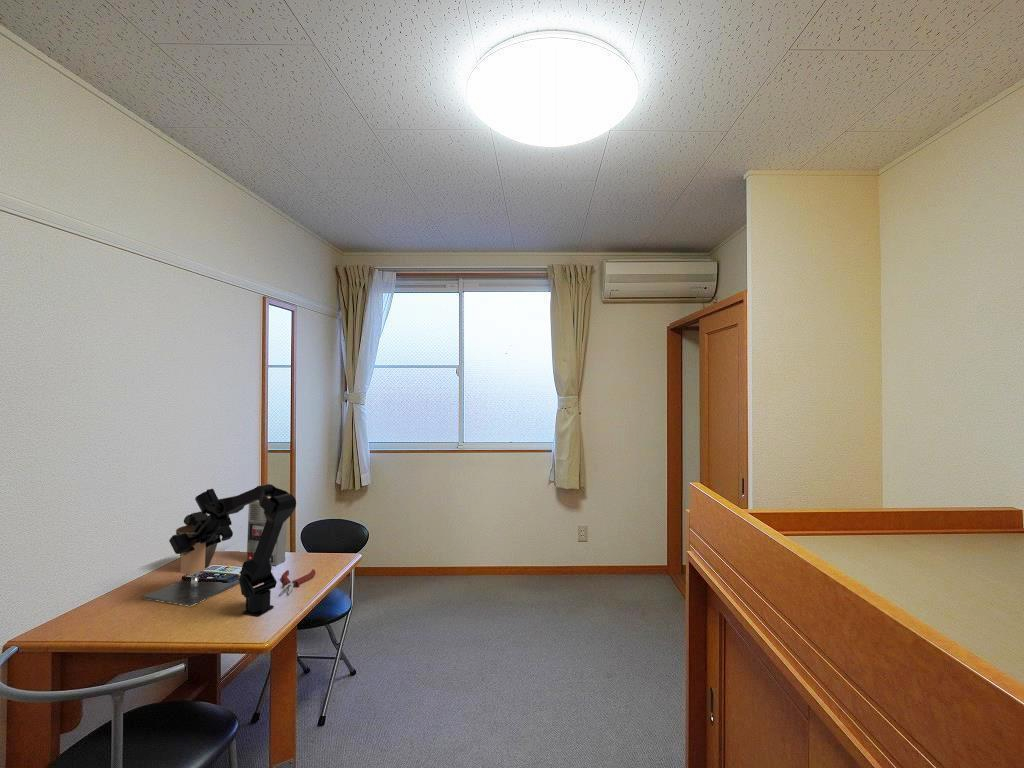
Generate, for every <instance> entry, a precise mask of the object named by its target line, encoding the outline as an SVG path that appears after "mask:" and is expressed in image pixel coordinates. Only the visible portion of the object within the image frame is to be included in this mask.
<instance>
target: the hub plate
mask: <svg viewBox="0 0 1024 768" xmlns="http://www.w3.org/2000/svg"><path fill="white" fill-rule="evenodd" d="M197 574H198V573H195V574H192V576H193V577H192V578H191V581H185V580H184V579H182V580H180V581H177V582H175V583H172V584H169V585H167V586H164V587H162V588H159V589H158V590H155V591H151V592H149V593H147V594H145V595H142V599H143V598H145V599H151V600H159V601H164V602H171V603H177V604H182V605H188V606H191V605H193V604H195V603H198V602H200V601H202V600H204V599H206V600H208V599H207V598H209V597H211V598H213V597H214V595H215V596H217V595H219V594H222V593H223V592H226V591H227V590H230V589H231V588H234V587H236V586H238V585H240V583H239V579H237V580H235V581H234V582H231V583H222V582H198V581H199V577H198V576H197ZM212 596H213V597H212ZM145 599H144V600H145ZM209 599H210V598H209ZM151 600H150V601H151ZM204 601H205V600H204ZM202 602H203V601H202ZM200 603H201V602H200ZM198 604H199V603H198Z"/></svg>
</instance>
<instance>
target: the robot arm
mask: <svg viewBox="0 0 1024 768" xmlns="http://www.w3.org/2000/svg"><path fill="white" fill-rule="evenodd" d="M194 500H195V502H196V504H197V505H198V507H199V509H200V511H198V512H192V513H190V514H187V515H186V516H185V517H184V519H183V524H184V525H185V526H186V525H187V526H190V525H191V526H192V527H193V529H192V531H193V533H195V534H193V535H192V536H193V537H190V538H189V537H188V535H187V534H186V533H180V534H176V533H175V534H172V536H171V537H170V538H169V539H168V541H169V543H170V546H171V547H172V549H173V551H174V554H177V555H180V553H182V554H183V555H186V554H188V553H190V552H191V551H193V550H195V549H194V547H193V546H195V544H196V543H201V544H202V543H206V548H207V547H210V546H212V545H215V544H217V545H218V544H219V543H221V542H224V541H227V540H230V539H231V538H232V537H233V534H234V532H233V530H232V528H231V527H230V526H232V520H231V517H230V515H234V514H237V513H239V512H240V511H242V510H243V509H244V508H245V507H246V506H247V505H248V506H249V504H250V503H253V502H255V501H258V500H259V503H260V506H261V507H262V508H263V509H264V514H265V517H266V523H265V526H264V529H263V531H262V534H261V537H260V540H259V543H258V545H257V548H256V551H255V554H254V556H253V559H252V560H249V561H246V562H245V561H244V562H243V564H242V566H241V570H240V571H239V578H238V580H239V583H240V584H239V587H240V592H241V595H242V596H243V597H244V598H245V609H244V610H243V611H242V613H243V615H248V614H249V615H248V616H253V615H255V617H260V616H262V615H264V614H265V613H267V612H269V611H270V610H272V609H274V607H275V606H274V605H271V595H272V593H271V592H272V591H271V590H272V589H275V588H276V586H277V584H278V583H277V582H278V581H277V580H276V577H275V576H274V575H273V573H272V569H273V566H272V565H271V564H270V562H269V561H270V558H271V555H272V552H273V550H274V547H275V544H276V541H277V539H278V536H279V533H280V531H281V528H282V525H283V523H284V522H285V521H286V522H287V520H288V519H289V518H290V517H291V516H292V514H293V513H294V510H295V509H296V507H297V500H296V498H295V496H294V495H293V494H292V493H289V492H288V491H286V490H283V489H281V488H278V487H276V486H275V485H273V484H270V483H267V484H266V483H265V484H262V485H257V486H256V487H255V488H254V487H253V488H252V489H250V490H247V491H245V492H243V493H239V494H238V495H233V496H229V497H223V498H219V497H218V495H217V494H216V492H215V489H214V488H209V489H206V491H204V492H201V493H200V494H198V495H196V496H195V498H194ZM268 610H269V611H268ZM242 613H241V614H242ZM261 614H262V615H261ZM259 615H260V616H259Z"/></svg>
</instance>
